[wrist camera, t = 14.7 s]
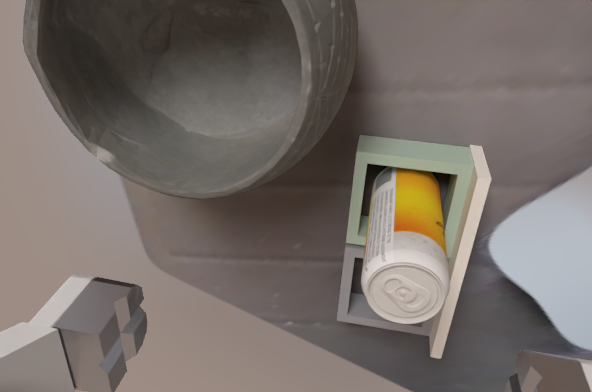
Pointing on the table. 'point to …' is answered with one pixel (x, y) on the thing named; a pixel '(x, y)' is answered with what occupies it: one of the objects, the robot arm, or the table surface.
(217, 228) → the table surface
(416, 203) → the beer can
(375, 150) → the holder board
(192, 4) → the bowl
